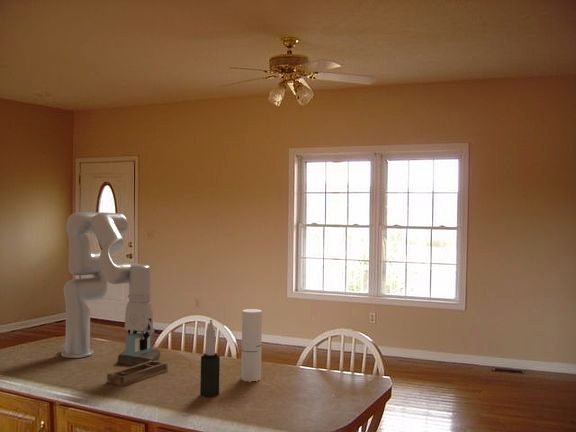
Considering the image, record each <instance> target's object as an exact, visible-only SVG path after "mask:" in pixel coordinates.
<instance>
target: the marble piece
mask: <svg viewBox="0 0 576 432" xmlns="http://www.w3.org/2000/svg"><path fill="white" fill-rule="evenodd" d="M125 351H126V348H125V349H124V350H123V351H122V352H121V353H119V355H118V357H117V363H118V364H120V365H122V366H123V365H124V366H129V367H132V366H136V365H139V364H142V363H145V362H148V361H150V360H153V361H159V359H161V350H159V349H153V348H152V351H148V352H145V353H142V354H138V355H135V356H129V355H125Z"/></svg>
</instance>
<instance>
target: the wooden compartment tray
mask: <svg viewBox="0 0 576 432" xmlns="http://www.w3.org/2000/svg"><path fill="white" fill-rule="evenodd" d="M168 365H169V364H168V363H167V362H162V361H159V360H157V361H153V360H150V361H148V362H145V363H142V364H139V365H136V366H129V367H126V368H123V369H120V370H117V371H114V372H111V373H110V372H108V373H107V374H106V382H107V383H108V384H112V385H113V384H114V385H117V386H121V387H126V386H130V385H133V384H135V383H138V382H140V381H141V382H142V381H143V380H147V379H150V378H151V377H155V376H158V375H161V374H164V373H166V372H168V370H169V369H168Z"/></svg>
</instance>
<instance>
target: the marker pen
mask: <svg viewBox="0 0 576 432" xmlns="http://www.w3.org/2000/svg"><path fill="white" fill-rule="evenodd" d="M213 324H214V323H213V319H209V324H208V327H207V328H206V332H205V333H206V336H205V337H206V339H205V343H206V344H205V353H203V355H201V356H200V386H199V387H200V392H199V393H200V394H199V395H200V396H201V397H205V398H214V397H215V396H218V395H220V365H221V364H220V362H221V361H220V360H221V359H220V355H218V353H216V328H215V327H214V325H213Z"/></svg>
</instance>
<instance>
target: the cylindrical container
mask: <svg viewBox="0 0 576 432" xmlns="http://www.w3.org/2000/svg"><path fill="white" fill-rule="evenodd" d="M241 312H242V317H241V318H242V319H241V320H242V321H241V324H242V326H241V362H240V363H241V364H240V365H241V367H240V368H241V369H240V370H241V371H240V373H241V374H240V379H242V380H244V381H243V382H246V381H249V382H248V383H252V382H251V381H256V382H259V381H261V380H260V379H261V378H262V340H263V339H262V336H263V335H262V331H263V330H262V328H263V310H261V309H260V308H259V309H257V308H246V309H243V310H241ZM242 380H241V381H242ZM258 380H259V381H258Z"/></svg>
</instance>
